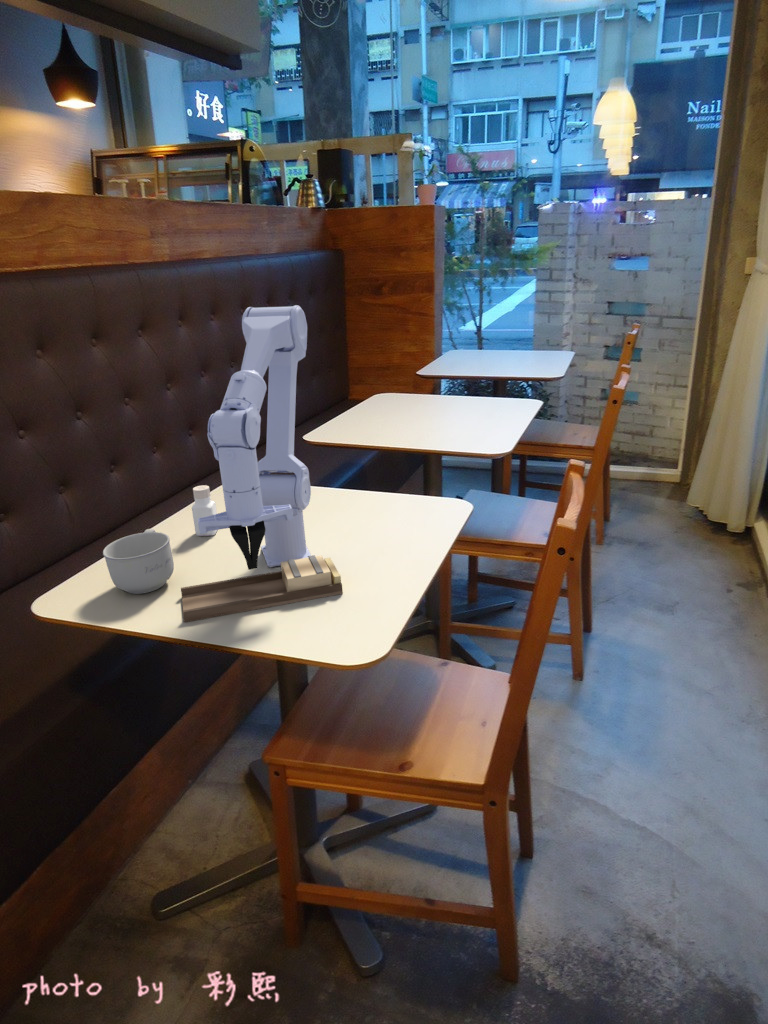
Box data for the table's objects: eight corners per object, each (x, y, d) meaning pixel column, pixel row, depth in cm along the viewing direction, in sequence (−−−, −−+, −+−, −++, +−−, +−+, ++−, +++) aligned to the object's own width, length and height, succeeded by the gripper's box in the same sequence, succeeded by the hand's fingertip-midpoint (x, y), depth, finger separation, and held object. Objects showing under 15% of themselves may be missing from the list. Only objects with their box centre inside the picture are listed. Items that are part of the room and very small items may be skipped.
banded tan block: (282, 579, 126) (280, 560, 125) (323, 572, 128) (321, 553, 126) (289, 597, 120) (287, 577, 118) (332, 589, 121) (330, 570, 120)
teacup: (159, 602, 122) (151, 557, 119) (98, 599, 124) (89, 555, 121) (194, 565, 135) (188, 524, 132) (139, 564, 137) (131, 523, 134)
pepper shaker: (215, 536, 147) (208, 490, 144) (195, 537, 148) (188, 491, 144) (219, 528, 151) (213, 484, 148) (200, 529, 151) (193, 485, 148)
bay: (182, 597, 123) (179, 581, 122) (330, 571, 129) (329, 556, 128) (184, 622, 115) (181, 605, 114) (342, 593, 121) (341, 577, 120)
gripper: (194, 502, 110) (208, 585, 115) (292, 487, 113) (301, 568, 118) (192, 487, 116) (204, 566, 121) (285, 474, 120) (293, 551, 125)
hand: (252, 566), depth 120 cm, fingers closed
